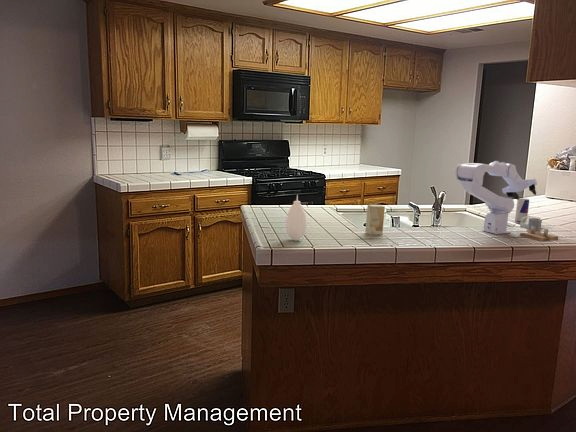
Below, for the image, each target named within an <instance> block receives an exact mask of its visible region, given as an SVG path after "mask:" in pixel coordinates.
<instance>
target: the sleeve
mask: <svg viewBox="0 0 576 432" xmlns="http://www.w3.org/2000/svg"><path fill="white" fill-rule="evenodd" d="M542 221H543V220H542V219H541V218H540V219H537V218H529V221H528V228H526V233H528V232H531V227H532V226H535V227H536V228H535V232H541V233H542V231H541V230H542Z"/></svg>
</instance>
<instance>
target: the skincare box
mask: <svg viewBox="0 0 576 432" xmlns="http://www.w3.org/2000/svg"><path fill="white" fill-rule="evenodd" d="M385 207H386V206H385V205H381V204H367V208H366V219H365V234H367V235H369V236H373V235H374V236H376V235H378V236H379V235H381V236H382V235H383V233H384V231H383V230H384V218H385Z"/></svg>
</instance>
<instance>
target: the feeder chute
mask: <svg viewBox="0 0 576 432" xmlns="http://www.w3.org/2000/svg"><path fill="white" fill-rule="evenodd" d="M529 218H537V219H541V217H539V216H532V215H528V216H526V217H523V218H521V224H520V226H519V227H520V228H523V227H524V229H528V221H529Z"/></svg>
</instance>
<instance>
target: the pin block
mask: <svg viewBox="0 0 576 432" xmlns="http://www.w3.org/2000/svg"><path fill="white" fill-rule="evenodd" d="M535 228H536V227H535V226H532V227H531V232H520V233H519V237H523V238H526V239H530V240H534V241H539V242H544V241H554V240H558V239H559V236H558V235H554V234H549V229H547V228H544V229H543V232H542V231H541V232H535Z"/></svg>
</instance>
